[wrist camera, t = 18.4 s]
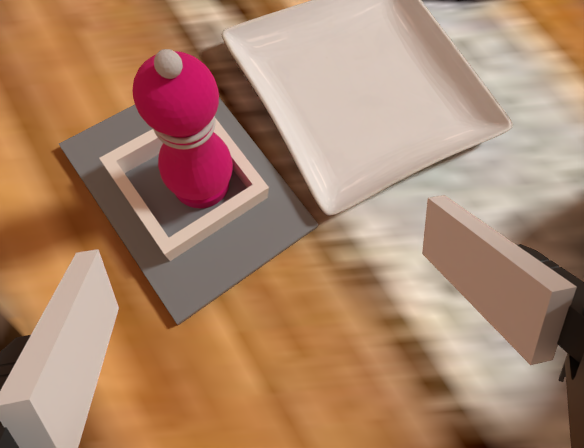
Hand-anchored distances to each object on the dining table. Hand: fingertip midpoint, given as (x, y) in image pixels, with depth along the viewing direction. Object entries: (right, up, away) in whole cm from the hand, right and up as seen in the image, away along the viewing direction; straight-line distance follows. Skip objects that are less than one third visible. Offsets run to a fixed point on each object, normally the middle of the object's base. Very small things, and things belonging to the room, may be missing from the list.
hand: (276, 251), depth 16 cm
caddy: (-11, +5, +29) cm, 31 cm away
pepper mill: (-10, +6, +28) cm, 30 cm away
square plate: (+10, +18, +36) cm, 41 cm away
